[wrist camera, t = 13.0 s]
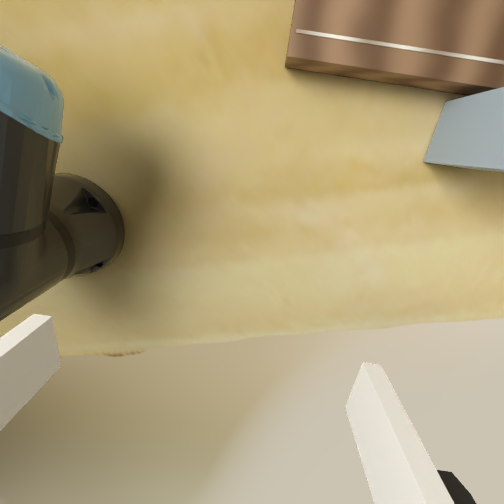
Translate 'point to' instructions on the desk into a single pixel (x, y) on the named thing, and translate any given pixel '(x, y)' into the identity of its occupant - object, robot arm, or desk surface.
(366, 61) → the plank
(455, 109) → the pale blue block
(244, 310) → the desk surface
